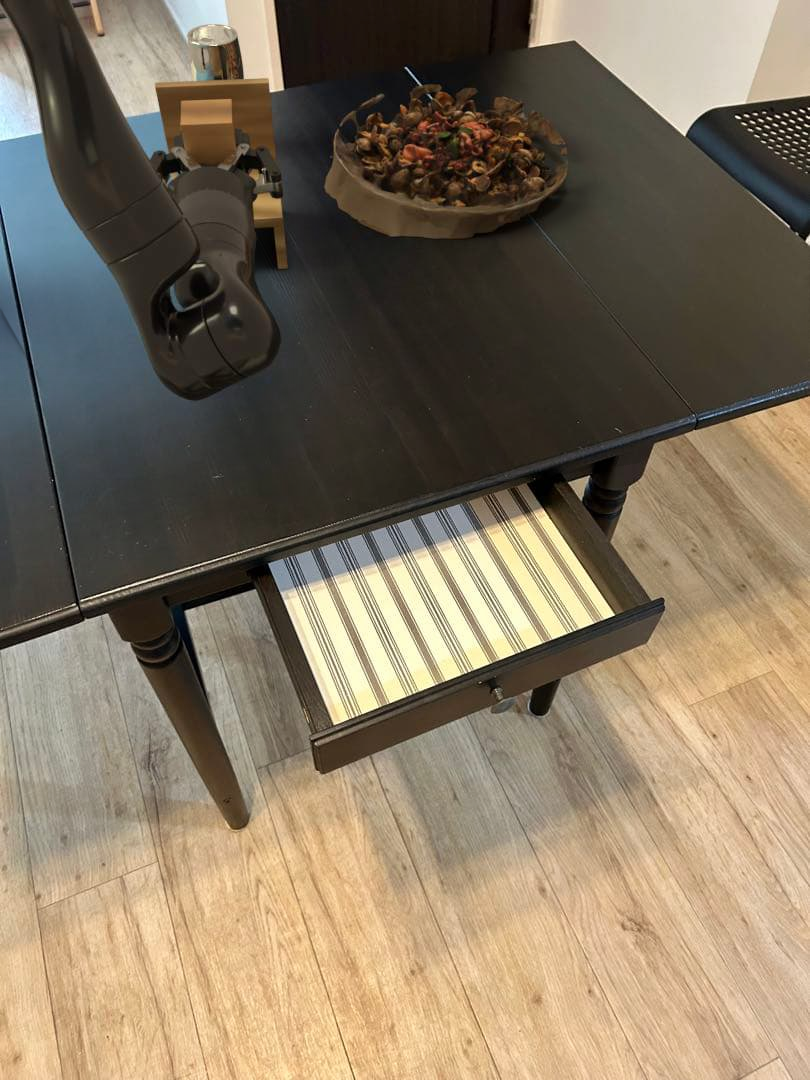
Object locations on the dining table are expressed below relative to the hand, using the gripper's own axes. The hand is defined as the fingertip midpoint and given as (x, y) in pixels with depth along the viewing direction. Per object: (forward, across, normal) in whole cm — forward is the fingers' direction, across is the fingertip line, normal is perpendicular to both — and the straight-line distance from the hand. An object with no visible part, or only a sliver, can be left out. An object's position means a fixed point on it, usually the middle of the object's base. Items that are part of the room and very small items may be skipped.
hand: (212, 138), depth 86 cm
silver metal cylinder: (+33, 0, +18) cm, 37 cm away
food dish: (+23, -30, +18) cm, 42 cm away
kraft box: (-3, 0, +6) cm, 7 cm away
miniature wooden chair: (+9, 0, +18) cm, 20 cm away
